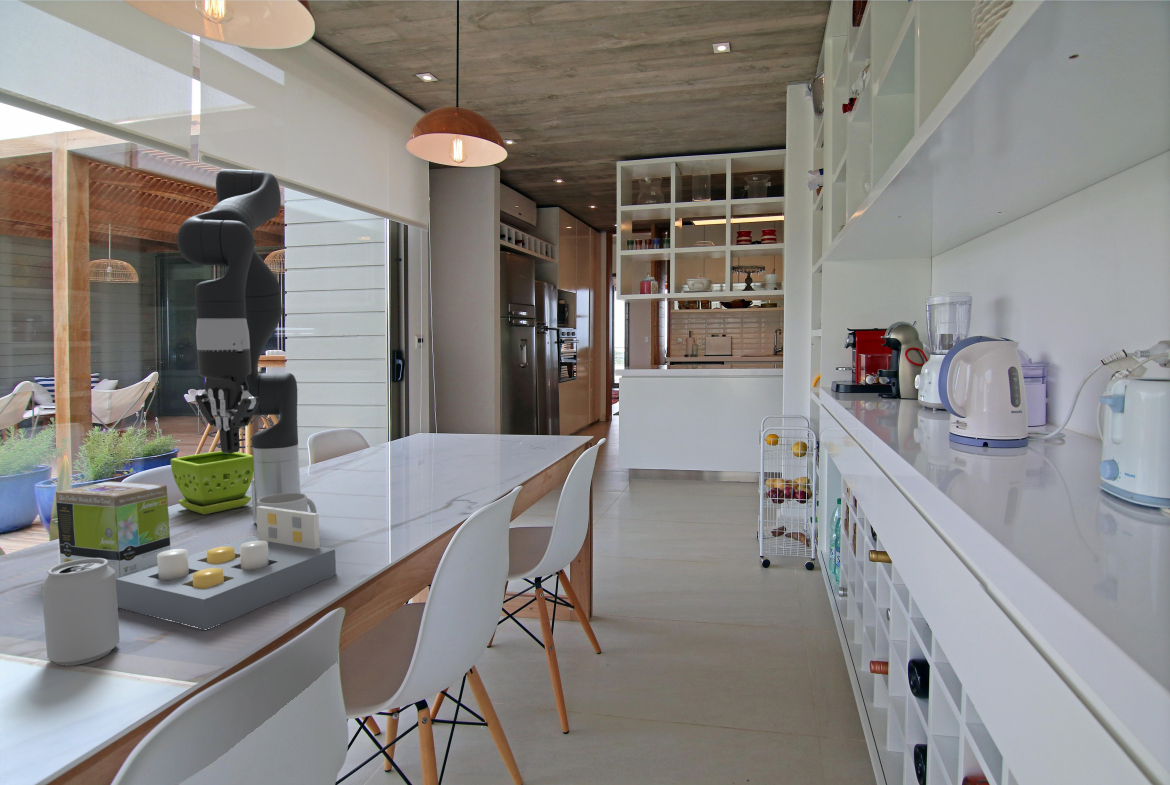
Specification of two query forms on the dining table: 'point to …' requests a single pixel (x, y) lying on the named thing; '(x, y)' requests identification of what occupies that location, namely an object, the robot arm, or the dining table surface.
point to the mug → (288, 502)
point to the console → (236, 575)
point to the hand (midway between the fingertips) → (230, 452)
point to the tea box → (114, 524)
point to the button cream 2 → (254, 555)
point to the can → (80, 611)
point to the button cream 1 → (172, 564)
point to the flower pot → (213, 480)
